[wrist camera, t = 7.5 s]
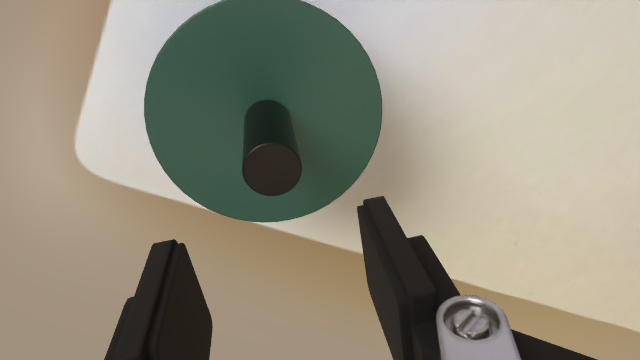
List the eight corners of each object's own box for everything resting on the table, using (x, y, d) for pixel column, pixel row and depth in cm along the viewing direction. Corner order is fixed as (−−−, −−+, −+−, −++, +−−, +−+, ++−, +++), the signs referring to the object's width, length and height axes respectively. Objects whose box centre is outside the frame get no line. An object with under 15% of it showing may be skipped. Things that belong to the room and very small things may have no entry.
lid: (127, 181, 25) (84, 258, 18) (180, -49, 20) (147, -53, 14) (329, 232, 28) (352, 313, 22) (413, 44, 24) (473, 76, 17)
